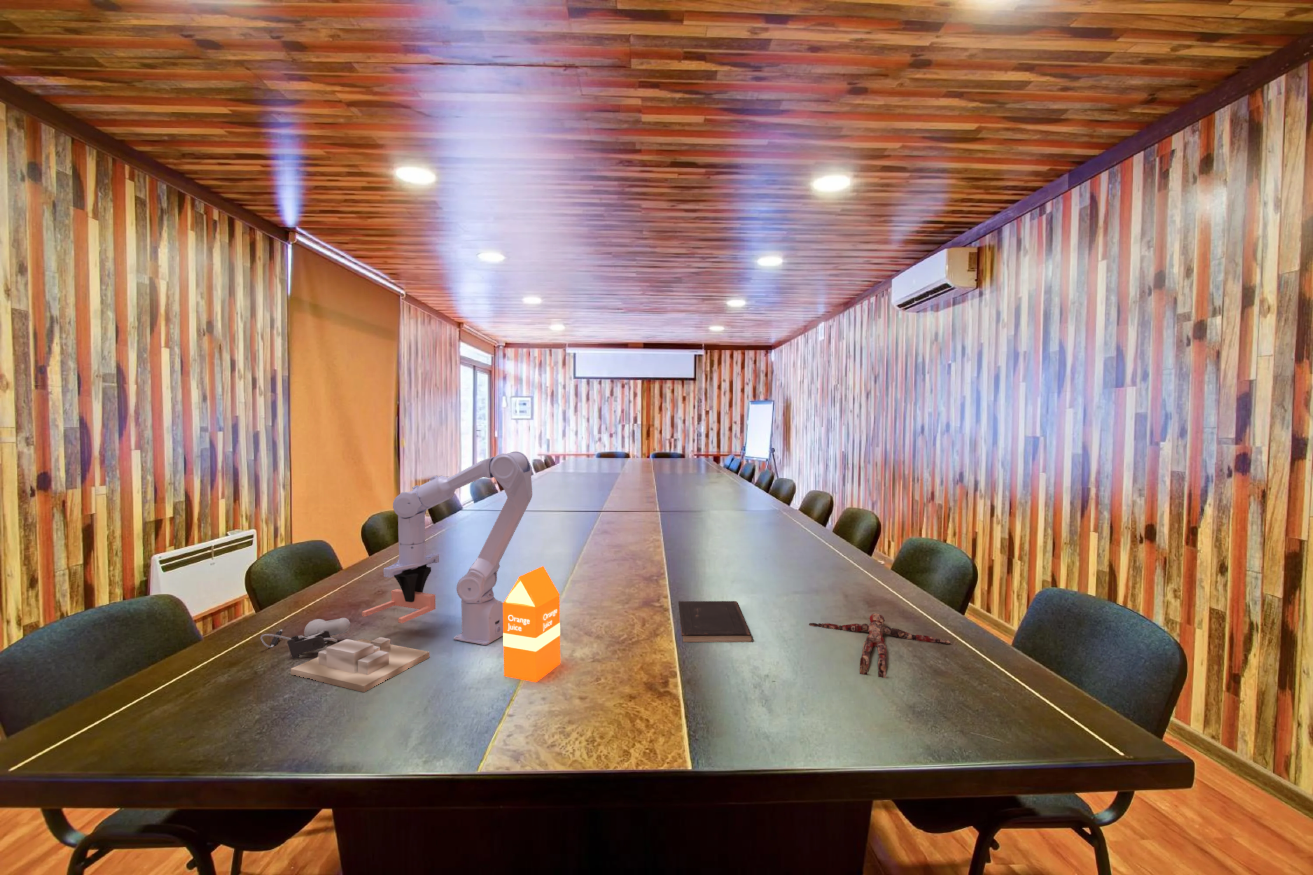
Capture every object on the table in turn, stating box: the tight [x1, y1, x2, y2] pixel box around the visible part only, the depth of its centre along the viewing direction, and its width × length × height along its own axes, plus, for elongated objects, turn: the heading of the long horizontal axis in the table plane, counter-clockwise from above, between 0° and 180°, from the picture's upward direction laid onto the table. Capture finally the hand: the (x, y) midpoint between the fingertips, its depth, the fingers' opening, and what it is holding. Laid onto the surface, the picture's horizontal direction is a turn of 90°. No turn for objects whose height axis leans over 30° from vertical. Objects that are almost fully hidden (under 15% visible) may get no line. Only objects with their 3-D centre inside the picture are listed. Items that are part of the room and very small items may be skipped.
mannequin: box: [808, 613, 951, 679], centre depth 122 cm, size 26×29×4 cm
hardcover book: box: [678, 600, 754, 643], centre depth 134 cm, size 16×23×2 cm
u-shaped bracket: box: [361, 588, 437, 624], centre depth 124 cm, size 10×12×3 cm
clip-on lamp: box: [260, 617, 351, 659], centre depth 121 cm, size 12×6×18 cm
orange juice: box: [502, 565, 561, 683], centre depth 109 cm, size 8×9×20 cm
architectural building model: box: [290, 636, 431, 693], centre depth 112 cm, size 16×20×5 cm
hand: (413, 599), depth 127 cm, fingers closed on u-shaped bracket, 2 cm apart
